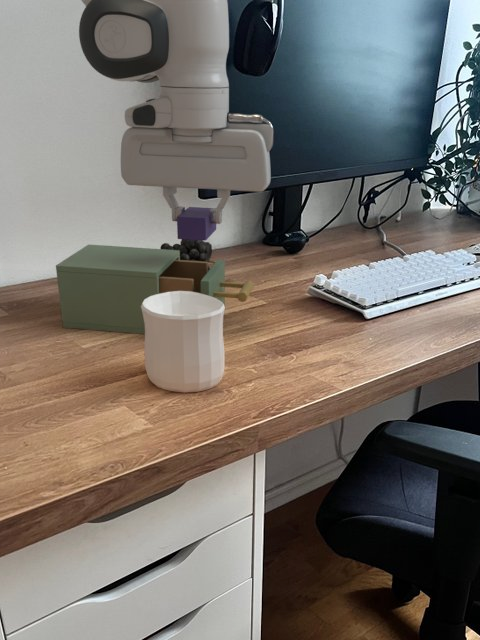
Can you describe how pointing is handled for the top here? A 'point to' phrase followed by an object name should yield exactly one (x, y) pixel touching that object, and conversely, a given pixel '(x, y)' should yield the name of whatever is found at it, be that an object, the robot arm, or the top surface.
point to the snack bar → (195, 224)
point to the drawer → (201, 280)
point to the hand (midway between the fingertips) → (196, 221)
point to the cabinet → (110, 286)
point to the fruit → (192, 250)
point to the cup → (184, 341)
